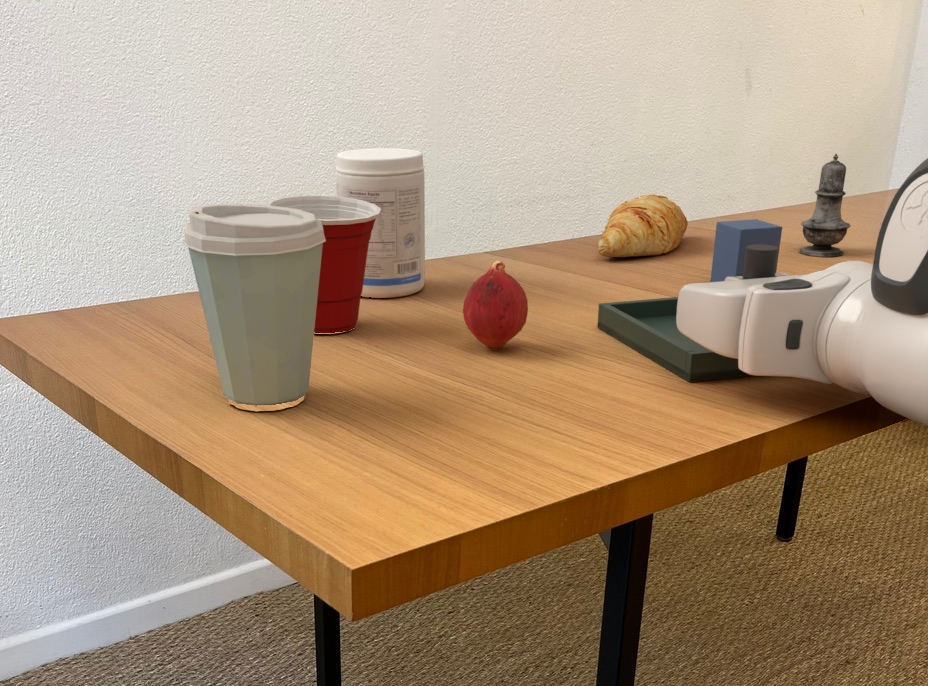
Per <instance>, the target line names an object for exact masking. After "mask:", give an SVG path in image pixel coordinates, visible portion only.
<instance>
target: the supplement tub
mask: <svg viewBox="0 0 928 686" xmlns="http://www.w3.org/2000/svg"><path fill="white" fill-rule="evenodd" d="M424 169H425V165H424V154H423V152H422V151H420V150H417V149H411V148H400V147H373V148H356V149H348V150H343V151H340V152H338V153H337V154H336V166H335V182H336V184H335V185H336V197H345V198H351V199H358V200H362V201H366V202H369V203H372V204H375V205H376V206H378V207H379V208H380V209H381V211H380V214H379V216H378V218H376V220H375V222H374V226H373V229H372V232H371V238H370V241H369V246H368V253H367V260H366V268H365V275H364V282H363V289H362V293H361V296H362V297H361V298H369V297H371V299H392V298H401V297H406V296H410V295H413V294H416V293H418V292H420V291H421V290H422V289H423V288H424V286H425V283H426V229H425V228H426V223H425V221H426V220H425V219H426V218H425V217H426V214H425V211H426V210H425V207H426V206H425V205H426V203H425V199H426V198H425V196H426V195H425V192H426V191H425V170H424Z"/></svg>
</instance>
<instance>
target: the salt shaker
mask: <svg viewBox="0 0 928 686" xmlns="http://www.w3.org/2000/svg"><path fill="white" fill-rule="evenodd" d="M832 158H833V160H831V161H829V162H826V163H824V165H822V167H821V170H820V178H819V183H818V189H816V191H814V194H815V195H816V200H815V206H814V207H815V208H814V211H813V213H812V216H811V217H810V218H808V219H807V220H803V221H801V222H800V225H801V226H802V234H803V238H804V239H805V240H806V242H808V243H809V244H812V245H805V246H803V248H800V249H799V253H800V254H802V255H805V256H810V257H817V258H820V257H821V258H832V257H833V258H834V257H841V256H843V255H844V251H843V250H841V248H839V247H836V246H834V245H837V244H840V243H841V242H842V241H843V240H844V239H845V236H846V235H847V232H848V229H849V228H851V223H848V222H846V221H845V220H844V219H843V218H842V210H841V209H842V204H843V197H844V196H845V195H847V193H846V191H844V187H845V181H846V174H847V167H846V165H845V164H844V163H843V162H840V161H839V160H838V159H839V158H840V157H839V155H838V153H835V154H834V155H833V156H832Z"/></svg>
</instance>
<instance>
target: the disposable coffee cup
mask: <svg viewBox="0 0 928 686" xmlns="http://www.w3.org/2000/svg"><path fill="white" fill-rule="evenodd" d="M188 214H189V222H188V223H187V224H186V225H185V229H184V241H183V245H184V246H185V247H186V248H187V249H188V252H189V257H190V261H191V264H192V269H193V273H194V278H195V281H196V285H197V290H198V294H199V298H200V302H201V307H202V309H203V315H204V319H205V322H206V328H207V331H208V335H209V339H210V344H211V348H212V353H213V356H214V360H215V365H216V368H217V373H218V377H219V382H220V385H221V390H222V392H223V396H225V397H226V398H227V400H228V399H229V400H232V401H233V402H235V403H237V404H246V405H255V406H257V405H276V404H282V403H287V402H293V401H296V400H298V399H299V398H301V397H303V396H305V397H306V393H308V392H309V388H310V378H311V377H310V376H311V368H312V356H313V348H314V347H313V346H314V336H315V334H314V327H315V317H316V307H317V297H318V287H319V276H320V266H321V256H322V246H323V242H325V241H326V240H325V236H324V230H323V226H322V222H321V221H320V220H319V219H316V217H315V215H314V214H312V213H309V212H305V211H302V210H299V209H294V208H286V207H278V206H270V205H267V204H252V203H251V204H250V203H249V204H247V203H213V204H212V203H210V204H204V205H197V206H192V207H191V208H190V210H189V213H188Z"/></svg>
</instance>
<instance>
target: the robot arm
mask: <svg viewBox="0 0 928 686" xmlns="http://www.w3.org/2000/svg"><path fill="white" fill-rule="evenodd" d="M677 297H678V303H677V313H676V323H677V328H678V330H679V331H680V332H681V333H682V334H683V335H685V336H686V337H688V338H689V339H691V340H693V341H694V342H696V343H698V344H699V345H701V346H703V347H705V348H707V349H709V350H711V351H713V352H715V353H717V354H720V355H723V356H726V357H730V358H736V359H738V367H739V369H740V370H742V371H743V372H745V373H747V374H750V375H751V376H756V377H758V376H759V377H776V378H777V377H778V378H796V379H797V378H798V379H805V380H810V381H814V382H818V383H821V384H825V385H832V384H835V385H838V386H839V387H842V388H844V389H845V390H847V391H850V392H852V393H855V394H858V395H865V396H871V397H872V398H873V399H874V400H875V402H877V403H878V404H879V405H881V406H882V407H883V408H885V409H887V410H890V411H891V412H893V413H895V414H898V415H900V416H902V417H903V418H907V419H909V420H912V421H913V422H916V423H918V424H921V425H923V426H925V427H928V157H926V158H925V160H923V161H922V162H921V163H920V164H919V165H918V166H916V167H915V169H913V170H912V172H911V173H910V174H909V175H908V176H907V177H906V178H905V180H904V182H902V184H901V185H900V187H899V188H898V189H897V191H896V193H895V194H894V196H893V198H892V200H891V202H890V204H889V206H888V208H887V211H886V213H885V215H884V218H883V220H882V222H881V225H880V229H879V232H878V236H877V241H876V243H875V249H874V256H873V262H872V263H869V262H866V261H862V260H846V261H842V262H839V263H835V264H833V265H831V266H829V267H827V268H825V269H823V270H818V271H814V272H811V273H807V274H794V275H792V274H790V273H786V272H783V271H782V272H776V273H775V277H769V278H757V279H749V278H746V277H744V276H733V277H726V278H725V281H720V282H710V281H707V282H697V283H695V282H694V283H686V284H684V285H683V286H682V287H681V288H680V291H679V292H678V296H677Z"/></svg>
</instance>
